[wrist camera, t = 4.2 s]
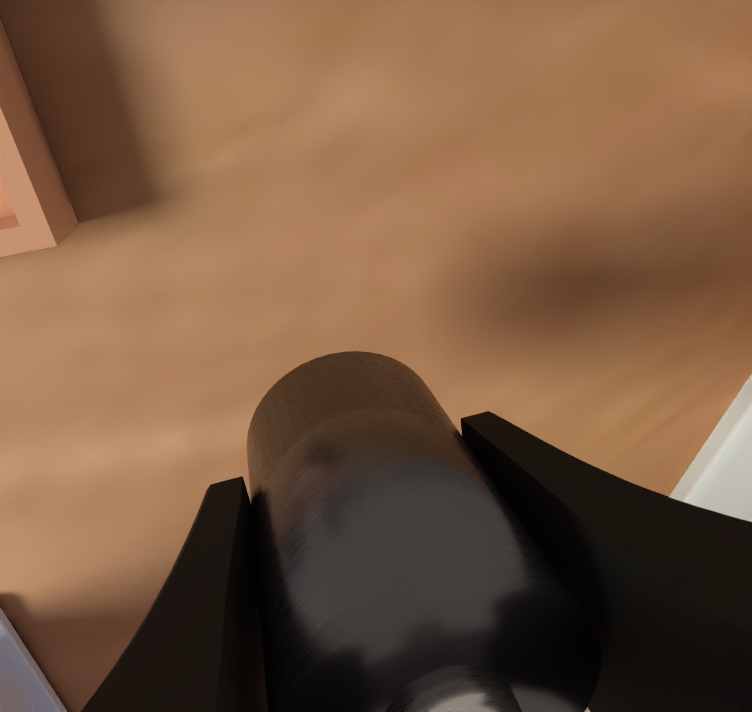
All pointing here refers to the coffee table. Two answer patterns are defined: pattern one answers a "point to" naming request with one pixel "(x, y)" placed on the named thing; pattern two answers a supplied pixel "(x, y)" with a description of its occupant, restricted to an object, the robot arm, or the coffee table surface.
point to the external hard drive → (724, 464)
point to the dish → (27, 170)
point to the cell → (398, 558)
